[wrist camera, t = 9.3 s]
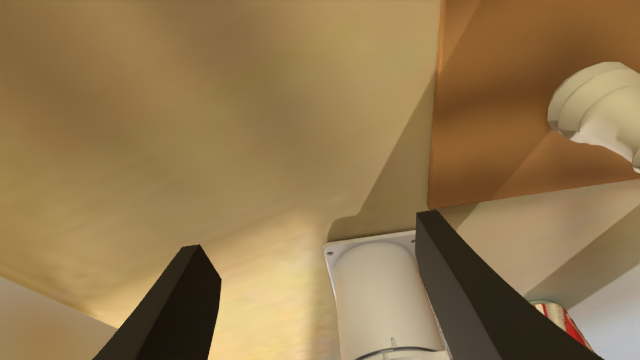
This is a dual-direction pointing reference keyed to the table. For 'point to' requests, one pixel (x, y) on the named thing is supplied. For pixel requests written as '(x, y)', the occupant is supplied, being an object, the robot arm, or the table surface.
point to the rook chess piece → (600, 109)
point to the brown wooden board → (520, 96)
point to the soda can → (560, 319)
